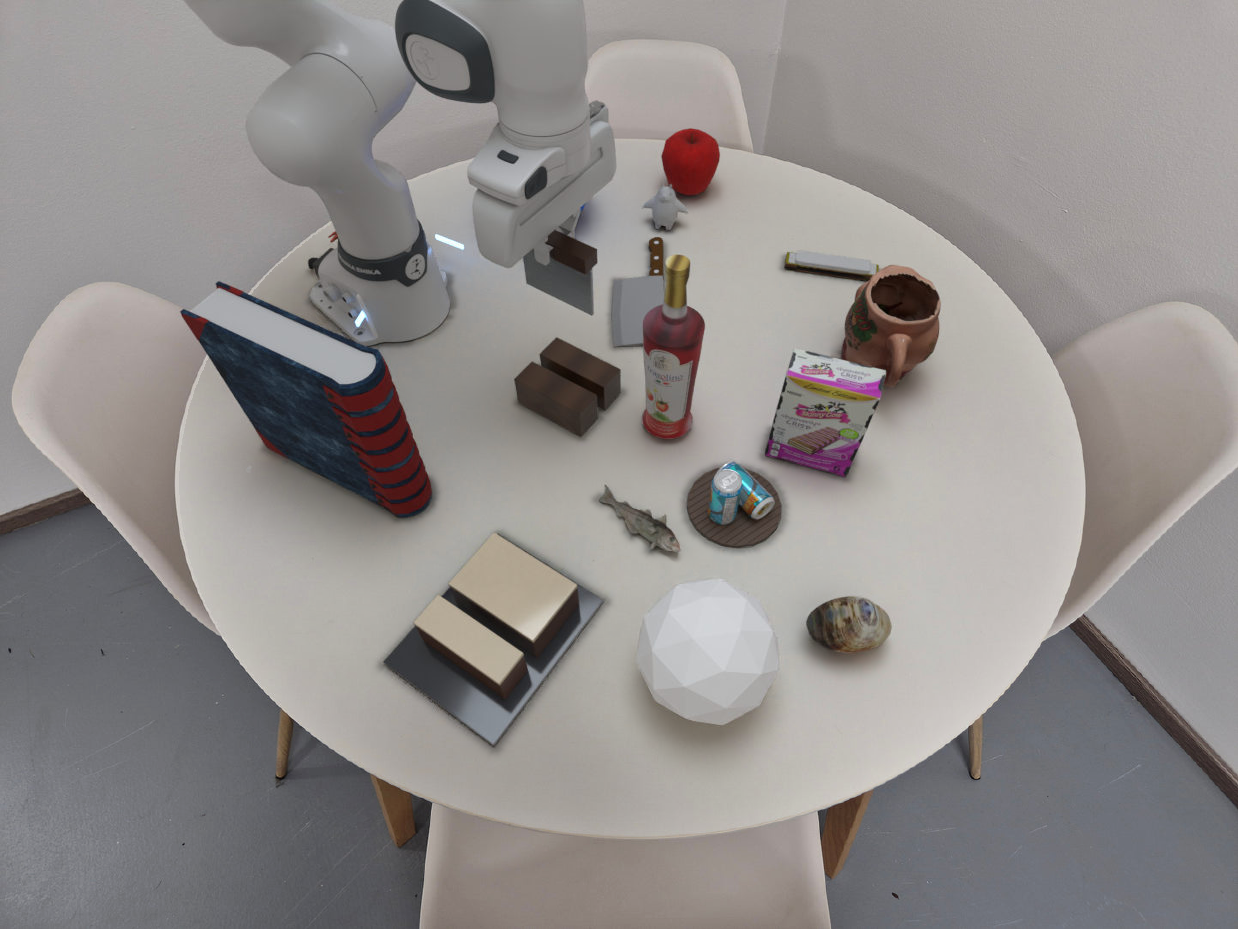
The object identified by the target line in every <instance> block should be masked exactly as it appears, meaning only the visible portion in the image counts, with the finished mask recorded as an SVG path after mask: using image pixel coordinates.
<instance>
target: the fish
mask: <svg viewBox="0 0 1238 929" xmlns="http://www.w3.org/2000/svg"><path fill="white" fill-rule="evenodd" d="M604 487H605V488H604V494H602V496H600V497H599V498H598V502H600V503H603V504H610V505H612V506H613V507H614V509H615V511H616V515H617V517H620V518H621V517H623V518H624V519H625V520H624V523H625V524H626V527H627V529H628V530H629V533H630V534H640V536H642V537H644V538H645V539H646V540H648V541H649V542H651V546H650V551H652V550H653V549H654V548H655V547H656V546H657V547H658V548H661V549H662V550H664V551H666V552H674V553H679V552H682V549H681V544H680V542H679V540H678V538H677V537H676V534H675V533H674V532H673V530H672V529H671V528H669V527H668V526H667V522H668V521H667V520H668V518H667V515H666V514H664V515H662V516H660V517H657V518H654V516H653V514H652V512H651V510H650V508H649V507H648V508H649V509H648V508H647V507H646V508H645V509H644V510H643V509H638V508H634V507H632V506H631V504H629V502H628V501H627V500H624V501H617V499H616V498H615V496H614V494H613V492H612V491H611V490H610V488H609V487H608V486H607V485H606V484H604Z"/></svg>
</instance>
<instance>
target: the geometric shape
mask: <svg viewBox="0 0 1238 929" xmlns="http://www.w3.org/2000/svg"><path fill="white" fill-rule="evenodd" d="M636 650H637V651H636V657H635V663H636V665H637V668H638V669H639V671H640V673H641V675H642V677H643V679H644V681H645V683H646V686H647V687H648V689H649V691H650V694H651V695H652V698H653V700H654V702H656V703H658V704H659V705H661V706H662V707H664V708H666V709H668V710H669V711H671V712H673V713H675V714H677V715H679V716H680V717H682V718H684V719H686V720H689V721H693V722H697V723H705V724H712V725H719V726H725V725H726V724H728V723H730V722H732V721H734V720H736V719H738V718H740V717H742V716H743V715H745V714H747V713H749V712H751V711H752V710H755V709H757V708H758V707H760V706H761V704H762V702H763V700H764V699H765V696H766V695H767V693H768V691H769V689H770V688H771V686H772V684H773V682H774V680H775V679H776V676H777V674H778V673H779V671H780V654H779V653H780V652H779V638H778V636H777V634H776V632H775V630H774V627H773V625H772V624H771V621H770V619H769V617H768V615H767V613H766V610H765V608H764V607H763V605H762V602H761V600H760V598H758V597H756V596H754V594H750V593H749V592H747V591H745V590H743V589H741V588H739V587H737V586H736V585H733V584H732V583H730V582H728V581H726V580H725V579H722V578H706V579H705V578H704V579H692V580H689V581H685V582H683V583H682V582H681V583H679V584H676V585H675V586H673V587H672V588H671V589H670V590H668V591H667V592H666V593H665V594H663V595H662V596H661V597H659V598H658V600H657V601H656V602H655V603H654V604H653V605H652V606H651V607H650V609H649V610H648V611H647V612H646V613H645V615H644V616H643V619H642V622H641V626H640V630H639V636H638V644H637V649H636Z"/></svg>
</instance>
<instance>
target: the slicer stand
mask: <svg viewBox="0 0 1238 929" xmlns="http://www.w3.org/2000/svg"><path fill="white" fill-rule="evenodd" d="M538 355H539V360H540V364H538V363H536V362H534V361H532V360H531V362H530V363H529V364H527V365H526V366H525V367H524V369H522V370H521V372H519V373H518V375H516V376H515V377H514V379H513V381H514V387H515V393H516V397H517V403H518V404H519V405H522V406H524V407H525V408H526V409H529V410H531V411H533V412H534V413H535V414H537V415H540V416H541V417H544V418H545V419H547V420H548V421H551V422H553V423H555V424H556V425H558V426H560V427H562V428H564V430H567V431H569V432H570V433H573V434H574V435H576V436H579V437H580V438H582V437H583V436H584V435H585V434H586V432H587V431H588V430H589V429H590V428H591V427H592V426H593V425H594V424H595V422H596V421H597V420H598V419H599V413H598V412H599V411H598V409H600V410H602V411H606V410H607V409H608V408H609V407H610V406H611V405H612V404H613V403H614V401H615V400H616V399H617V398H618V397H619V395H620V394H621V393H622V382H621V379H622V378H621V374H622V373H621V368H619V367H618V366H615V365H613V364H611V363H609V362H607V361H605V360H603V359H601V358H600V357H597V356H595V355H593V354H592V353H590V352H587V351H585V350H583V349H581V348H579V347H577V346H575V345H573V344H571V343H569V342H567V341H565V340H563V339H561V338H559V337H555V338H554V339H553V340H552V341H551V342H550V343H549V344H548V345H546V347H545V348H544V349H543V350H541V352H540V353H539V354H538Z"/></svg>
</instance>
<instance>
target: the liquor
mask: <svg viewBox="0 0 1238 929" xmlns="http://www.w3.org/2000/svg"><path fill="white" fill-rule="evenodd" d="M690 272H691V260H690V259H689V257H687V256H686V255H683V254H672V255H669V256H668V257H667V258H666V260H665V268H664V277H665V278H664V279H665V290H664V302H663V305H659V306H657V307H655V308H653V309H651V310H650V311H649V312H648V313H647V314H646V316H645V317H644V320H643V346H642V350H643V351H642V353H643V365H644V366H643V370H644V387H645V390H644V392H645V408H644V410H643V412H642V416H641V417H642V418H641V421H642V425H643V427H644V429H645V430H646V431H647V432H648V433H649V434H651V435H652V436H654V437H656V438H659V439H664V440H673V439H677V438H680V437H682V436H684V435H685V434H687V433H688V432H689V431H690V429H691V428H692V425H693V422H694V419H693V418H694V417H693V414H692V412H691V411H692V403H693V397H694V390H695V384H696V379H697V375H698V369H699V364H700V359H701V355H702V348H703V342H704V335H705V330H706V322H705V319H704V318H703V316H702V314H701V313H700V312H699V311H698V310H696V309H695V308H693V307H692V306H689V305H688V295H687V292H688V291H687V285H688V282H689V278H690V275H691V274H690Z"/></svg>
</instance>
